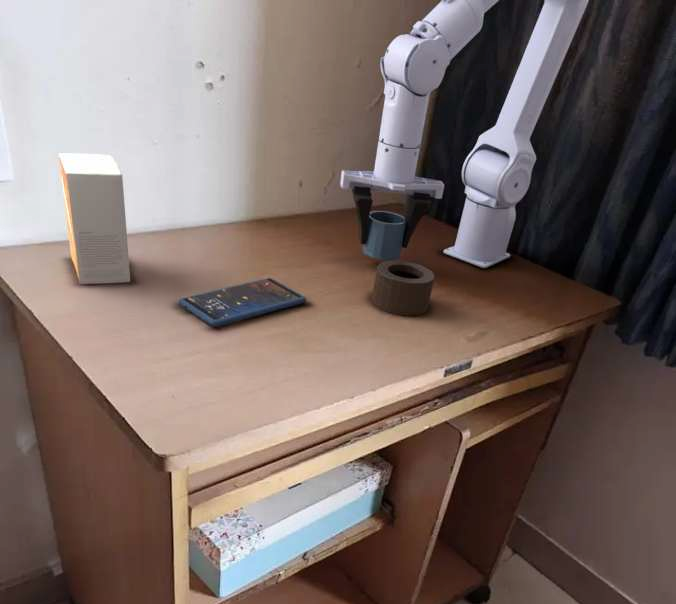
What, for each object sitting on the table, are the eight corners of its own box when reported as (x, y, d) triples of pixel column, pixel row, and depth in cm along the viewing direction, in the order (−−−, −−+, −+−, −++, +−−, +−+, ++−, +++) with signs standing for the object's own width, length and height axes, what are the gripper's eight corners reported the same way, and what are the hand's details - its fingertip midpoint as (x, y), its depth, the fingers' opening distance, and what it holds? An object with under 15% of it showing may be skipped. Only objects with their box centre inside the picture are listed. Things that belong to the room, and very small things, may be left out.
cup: (376, 243, 103) (382, 208, 100) (407, 255, 100) (414, 220, 97) (354, 250, 99) (359, 214, 96) (385, 263, 97) (392, 226, 93)
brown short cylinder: (392, 287, 95) (398, 256, 92) (437, 306, 92) (445, 274, 89) (360, 300, 90) (365, 267, 87) (407, 321, 87) (414, 287, 84)
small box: (71, 259, 88) (57, 152, 79) (120, 258, 90) (112, 154, 82) (78, 285, 82) (64, 172, 74) (131, 283, 85) (123, 173, 76)
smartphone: (308, 297, 86) (213, 322, 77) (307, 303, 87) (213, 329, 78) (270, 276, 90) (176, 298, 81) (269, 282, 90) (176, 304, 81)
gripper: (351, 144, 86) (337, 249, 95) (457, 156, 88) (435, 257, 97) (344, 131, 91) (332, 232, 100) (445, 143, 94) (424, 240, 102)
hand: (382, 243), depth 99 cm, fingers closed on cup, 6 cm apart
